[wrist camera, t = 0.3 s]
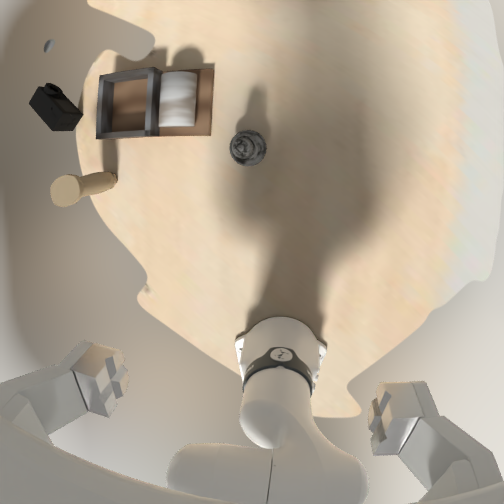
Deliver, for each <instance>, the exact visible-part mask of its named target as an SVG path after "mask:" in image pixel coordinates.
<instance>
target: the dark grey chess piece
mask: <svg viewBox="0 0 504 504" xmlns="http://www.w3.org/2000/svg"><path fill="white" fill-rule="evenodd" d="M230 154H231V156H232V158H233V159H234V160H235V161H236V162H237V163H238V164H240V165H243V166H253V165H256V164H258V163H259V162H260V161H261V160H262V159H263V158H264V156H265V154H266V143H265V140H264V139H263V137H262V136H261V135H260V134H259V133H257V132H255V131H251V130H245V131H241V132H239V133H238V134H236V135H235V136H234V137H233V139H232V141H231V143H230Z"/></svg>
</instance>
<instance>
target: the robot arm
mask: <svg viewBox="0 0 504 504" xmlns="http://www.w3.org/2000/svg"><path fill="white" fill-rule="evenodd" d="M241 347H242V349H241ZM235 349H236V353H237V358H238V363H239V367H240V372H241V376H242V380H243V393H244V394H243V399H242V404H241V409H240V414H239V421H240V425H241V427H242V429H243V431H244V432H245V434H246V435H247V436H248V438H249V439H250V440H252V441H253V442H254V443H255V444H257V445H259V446H261V447H262V448H256V447H247V446H239V445H231V444H224V443H200V444H187V445H186V446H184V447H183V448H181V449H180V450H179V451H178V452H177V453H176V454H175V455H174V456H173V458H172V460H171V461H170V463H169V465H168V469H167V473H166V483H167V488H164V487H160V486H157V485H153V484H150V483H147V482H143V481H140V480H137V479H134V478H131V477H128V476H125V475H122V474H119V473H117V472H114V471H111V470H108V469H106V468H103V467H101V466H98V465H96V464H93V463H91V462H88V461H86V460H84V459H81V458H79V457H77V456H75V455H72V454H70V453H68V452H66V451H64V450H62V449H60V448H57V447H55V446H54V444H53V443H52V441H51V440H50V438H49V436H48V435H49V434H51V433H53V432H54V431H56V430H58V429H60V428H61V427H63V426H65V425H66V424H68V423H70V422H72V421H74V420H75V419H77V418H79V417H80V416H82V415H84V414H86V413H87V412H88V411H90V412H93V413H96V414H99V415H102V416H105V417H110V416H111V414H112V412H113V411H114V409H115V407H116V406H117V400H116V399H117V398H119V397H122V396H123V395H124V393H125V392H126V390H127V387H128V383H129V375H128V370H127V369H126V368H125V367H124V365H123V362H124V361H125V358H124V354H123V352H122V351H121V350H118V349H115V348H111V347H107V346H104V345H100V344H97V343H92V342H89V341H86V340H84V341H81V342H80V343H79V344H78V345H77V346H76V347H75V348H74V349H73V350H72V351H71V352H70V353H69V354H68V355H67V356H66V357H65V358H64V359H63V360H62V361H61V362H60V364H59V365H58V366H57V365H51V366H49V367H46V368H43V369H40V370H37V371H35V372H32V373H29V374H26V375H23V376H20V377H17V378H14V379H11V380H8V381H5V382H2V383H1V384H0V504H364V503H365V501H366V498H367V495H368V491H369V479H368V475H367V472H366V470H365V468H364V466H363V464H362V463H361V462H360V461H359V460H358V459H357V458H356V457H354V456H352V455H350V454H348V453H346V452H344V451H342V450H340V449H338V448H337V447H336V446H334V445H333V444H332V443H331V442H330V441H329V440H328V439H326V438H325V437H324V435H323V434H322V433H321V432H320V430H319V429H318V428H317V426H316V424H315V422H314V420H313V415H312V409H311V400H310V398H311V395H312V393H313V392H314V390H315V383H313V381H317V380H318V375H317V373H319V370H320V366H321V364H322V361H323V359H324V357H325V355H326V352H327V348H326V346H325V345H324V344H323V343H321V342H320V341H318V340H317V339H316V337H315V336H314V334H313V332H312V331H311V330H310V329H309V328H308V327H307V326H306V325H305V324H304V323H302V322H300V321H298V320H296V319H293V318H289V317H272V318H268V319H265V320H263V321H261V322H259V323H258V324H256V325H255V326H254V327H253V328H252V329H251V330H250V331H249V332H248V333H247V334H245V335H243V336H240V337H239V338H237V339H236V340H235ZM319 354H321V355H319ZM376 395H377V398H376V399H374V400H373V401H372V402H371V405H370V408H369V413H368V426H369V430H371V431H372V432H373V435H372V437H371V445H372V452H373V456H379V455H398V457H399V458H400V459H401V460H402V461H403V463H404V464H405V465H406V466H407V467H408V469H409V470H410V471H411V472H412V473H413V474H414V476H415V477H416V478H417V479H418V480H419V481H420V483H421V484H422V485H423V486H424V487H425V488H426V489H427V491H428V492H427V493H426V494H425V495H424V496H423V497H422V498H421V500H420V501H419V502H416V503H410V504H504V481H503V479H502V476H501V473H500V471H499V468H498V465H497V463H496V460H495V458H494V455H493V453H492V452H491V451H490V450H489V449H487V448H486V447H484V446H483V445H482V444H480V443H479V442H478V441H476V440H475V439H474V438H472V437H471V436H470V435H468V434H467V433H466V432H464V431H463V430H462V429H460V428H459V427H458V426H456V425H455V424H454V423H452V422H451V421H450V420H448V419H447V418H446V417H445V416H440V415H439V413H438V410H437V408H436V405H435V403H434V400H433V398H432V395H431V393H430V391H429V388H428V386H427V383H426V382H424V381H412V382H380V384H379V385H378V387H377V390H376Z"/></svg>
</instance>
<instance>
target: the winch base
mask: <svg viewBox="0 0 504 504" xmlns="http://www.w3.org/2000/svg"><path fill="white" fill-rule="evenodd" d="M213 82H214V70H213V69H194V70H179V71H167V72H162V71H160V70H158V69H157V68H155V67H151V68H143V69H136V70H129V71H122V72H116V73H111V74H105V75H100V77H99V88H98V102H97V122H96V139H121V138H138V137H161V136H211V119H212V99H213Z"/></svg>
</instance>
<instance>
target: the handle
mask: <svg viewBox="0 0 504 504" xmlns="http://www.w3.org/2000/svg"><path fill="white" fill-rule="evenodd" d="M116 183H117V179H116V174H112V173H111V172H97V173H92V174H88V175H85V176H82V177H79V176H77V175H72V174H68V175H64V176H61V177H59V178H57V179H56V180H55V181H54V183H53V184H52V185H51V189H50V191H51V197H52V200H53V202H54V204H55V205H57V206H60V207H66V206H69V205H72V204H75V203H77V202H78V201H79V200H80V199H81V197H83V196H89V195H94V194H99V193H102V192H104V191H107V190H109V189H111V188H113V187H114V185H115V184H116Z"/></svg>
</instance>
